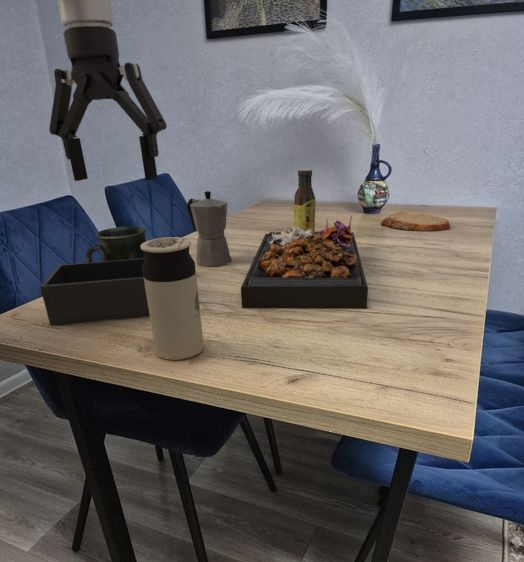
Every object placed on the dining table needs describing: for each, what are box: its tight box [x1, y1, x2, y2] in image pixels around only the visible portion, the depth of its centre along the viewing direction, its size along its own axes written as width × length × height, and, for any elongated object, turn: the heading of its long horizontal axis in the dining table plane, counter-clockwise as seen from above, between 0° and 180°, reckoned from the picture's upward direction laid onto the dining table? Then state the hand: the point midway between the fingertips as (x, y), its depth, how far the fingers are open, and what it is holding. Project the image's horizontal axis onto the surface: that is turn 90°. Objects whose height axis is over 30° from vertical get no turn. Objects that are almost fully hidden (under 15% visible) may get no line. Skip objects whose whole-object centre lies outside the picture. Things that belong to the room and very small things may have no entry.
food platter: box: [240, 215, 369, 309], centre depth 111 cm, size 45×25×10 cm, turn 174°
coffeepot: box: [186, 190, 232, 268], centre depth 121 cm, size 15×9×18 cm, turn 45°
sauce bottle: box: [293, 169, 316, 232], centre depth 138 cm, size 6×6×20 cm
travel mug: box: [140, 236, 205, 361], centre depth 74 cm, size 8×8×18 cm
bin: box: [39, 258, 150, 326], centre depth 96 cm, size 22×15×8 cm
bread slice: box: [380, 211, 451, 232], centre depth 152 cm, size 18×18×4 cm
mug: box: [85, 225, 147, 263], centre depth 109 cm, size 11×15×12 cm
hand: (115, 179), depth 79 cm, fingers open, 13 cm apart
